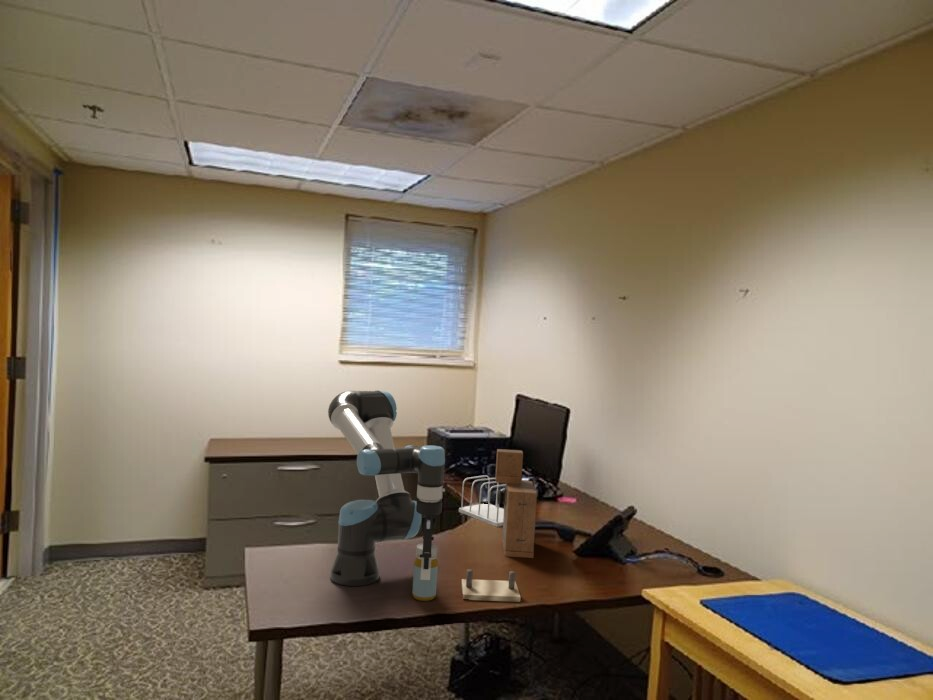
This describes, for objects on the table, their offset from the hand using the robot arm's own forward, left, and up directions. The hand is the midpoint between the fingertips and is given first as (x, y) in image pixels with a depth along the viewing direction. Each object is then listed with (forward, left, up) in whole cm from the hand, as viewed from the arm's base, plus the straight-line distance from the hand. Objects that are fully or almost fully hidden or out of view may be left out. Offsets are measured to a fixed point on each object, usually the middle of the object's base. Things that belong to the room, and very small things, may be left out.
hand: (425, 570), depth 187 cm
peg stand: (+20, +5, -8) cm, 22 cm away
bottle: (0, 0, -8) cm, 8 cm away
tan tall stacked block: (+33, +48, -8) cm, 59 cm away
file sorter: (+28, +88, -8) cm, 93 cm away
